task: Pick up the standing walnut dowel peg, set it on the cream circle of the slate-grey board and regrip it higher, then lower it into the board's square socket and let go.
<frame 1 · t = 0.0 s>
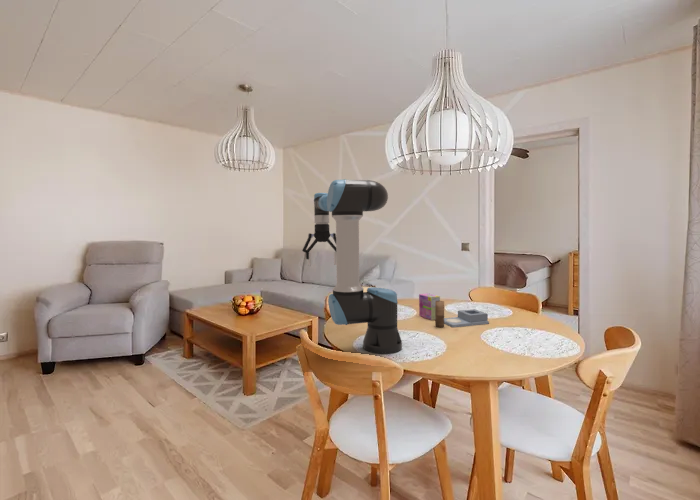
hand: (322, 265, 178), 28 cm above the table, fingers open, 13 cm apart
socket board: (463, 322, 171), on the table
box: (429, 317, 181), on the table
peg: (439, 326, 164), on the table
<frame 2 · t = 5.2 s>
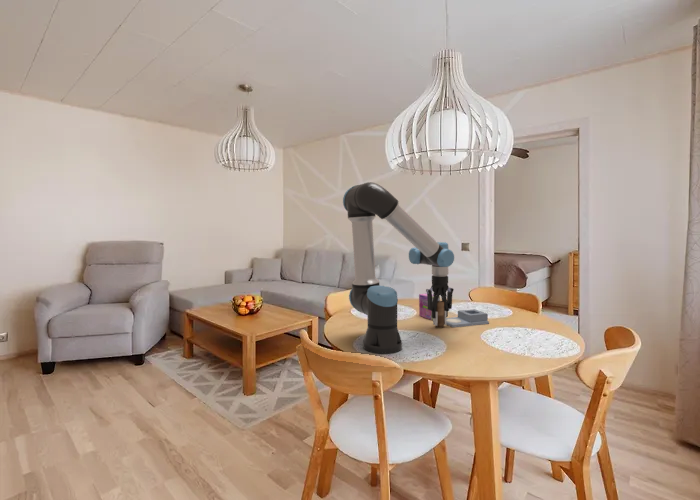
hand: (439, 324, 164), 1 cm above the table, fingers closed on peg, 4 cm apart
peg: (439, 326, 164), on the table, touching gripper
everything else where it was.
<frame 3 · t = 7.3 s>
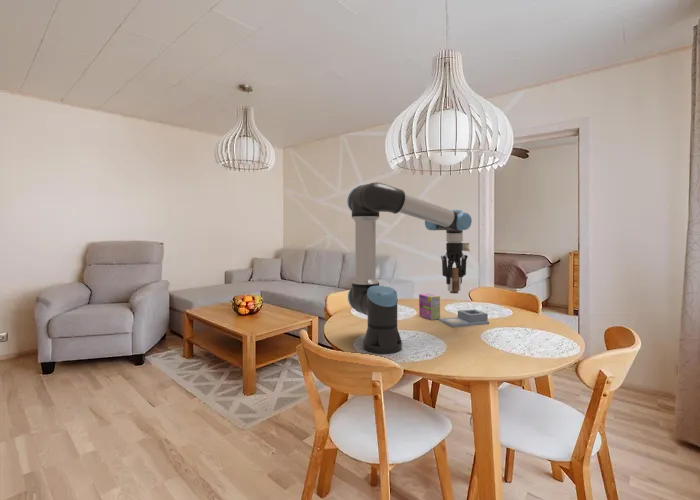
hand: (454, 290, 169), 16 cm above the table, fingers closed on peg, 4 cm apart
peg: (454, 292, 169), point 15 cm above the table, touching gripper
everything else where it was.
when the fingers open (4 cm above the table, at t = 9.7 s): peg stays where it is, resting on socket board.
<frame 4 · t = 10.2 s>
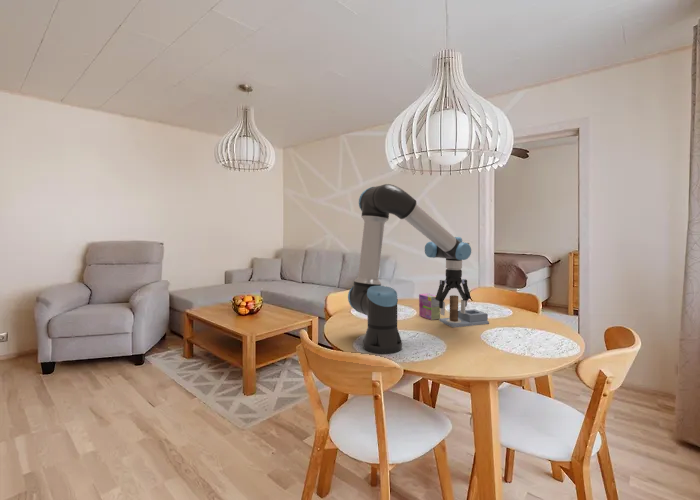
hand: (452, 314, 169), 5 cm above the table, fingers open, 11 cm apart
peg: (453, 320, 169), point 1 cm above the table, touching socket board
everything else where it was.
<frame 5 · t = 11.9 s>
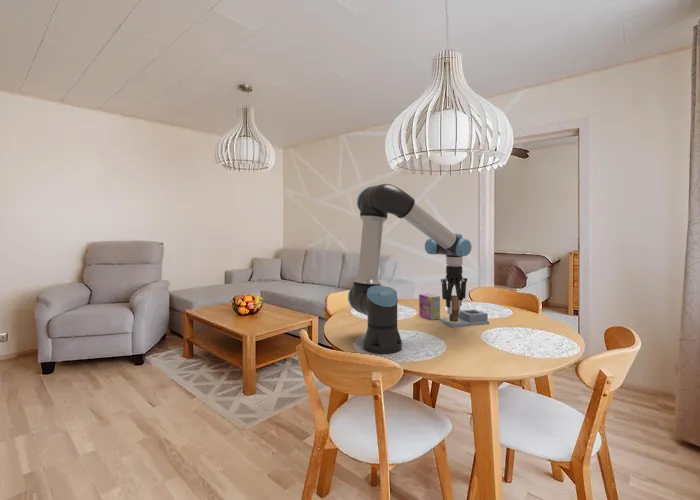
hand: (453, 313, 169), 5 cm above the table, fingers closed on peg, 4 cm apart
peg: (453, 320, 169), point 1 cm above the table, touching gripper
everything else where it was.
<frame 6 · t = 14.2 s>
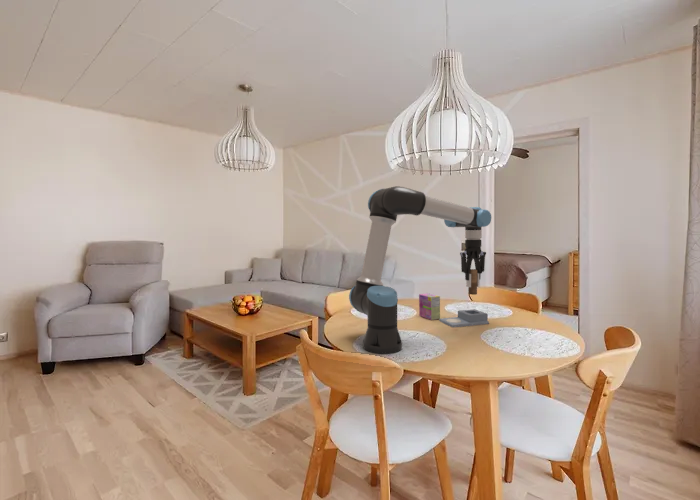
hand: (472, 286, 171), 18 cm above the table, fingers closed on peg, 4 cm apart
peg: (472, 293, 172), point 14 cm above the table, touching gripper
everything else where it was.
when the fingers open (6 cm above the table, at t = 16.9 s): peg stays where it is, resting on socket board.
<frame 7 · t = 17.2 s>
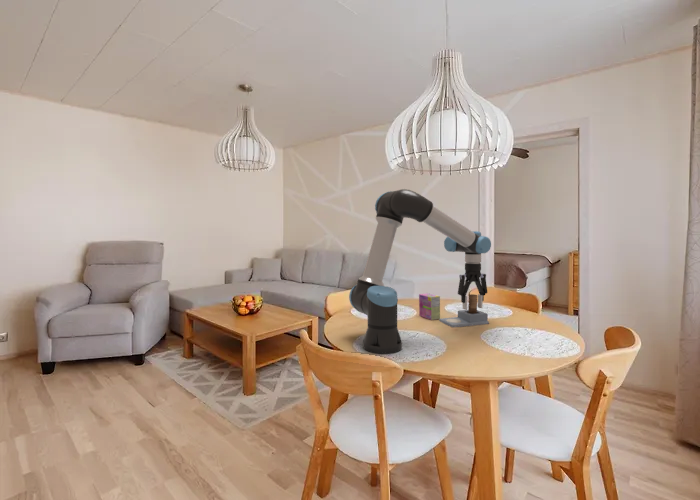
hand: (472, 308, 172), 7 cm above the table, fingers open, 8 cm apart
peg: (472, 319, 172), point 1 cm above the table, touching socket board
everything else where it was.
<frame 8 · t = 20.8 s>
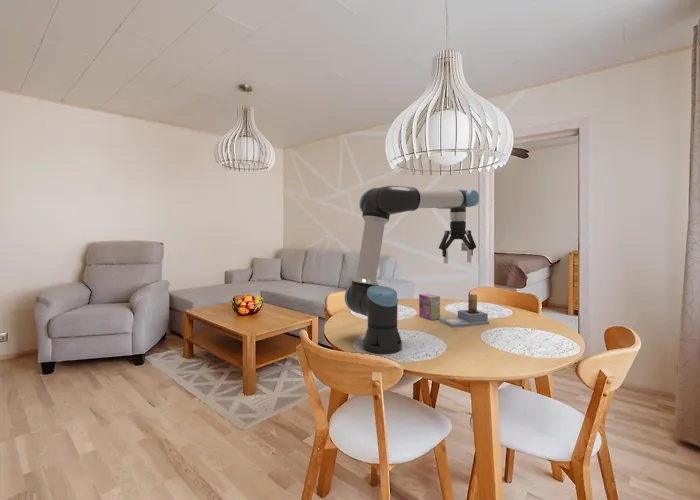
hand: (457, 262, 176), 29 cm above the table, fingers open, 13 cm apart
nothing on the table moved.
at the end: peg 0.1 cm from the target spot on the socket board, point 1.2 cm above the socket board's base; peg tilted 0°; the gripper is holding nothing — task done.
